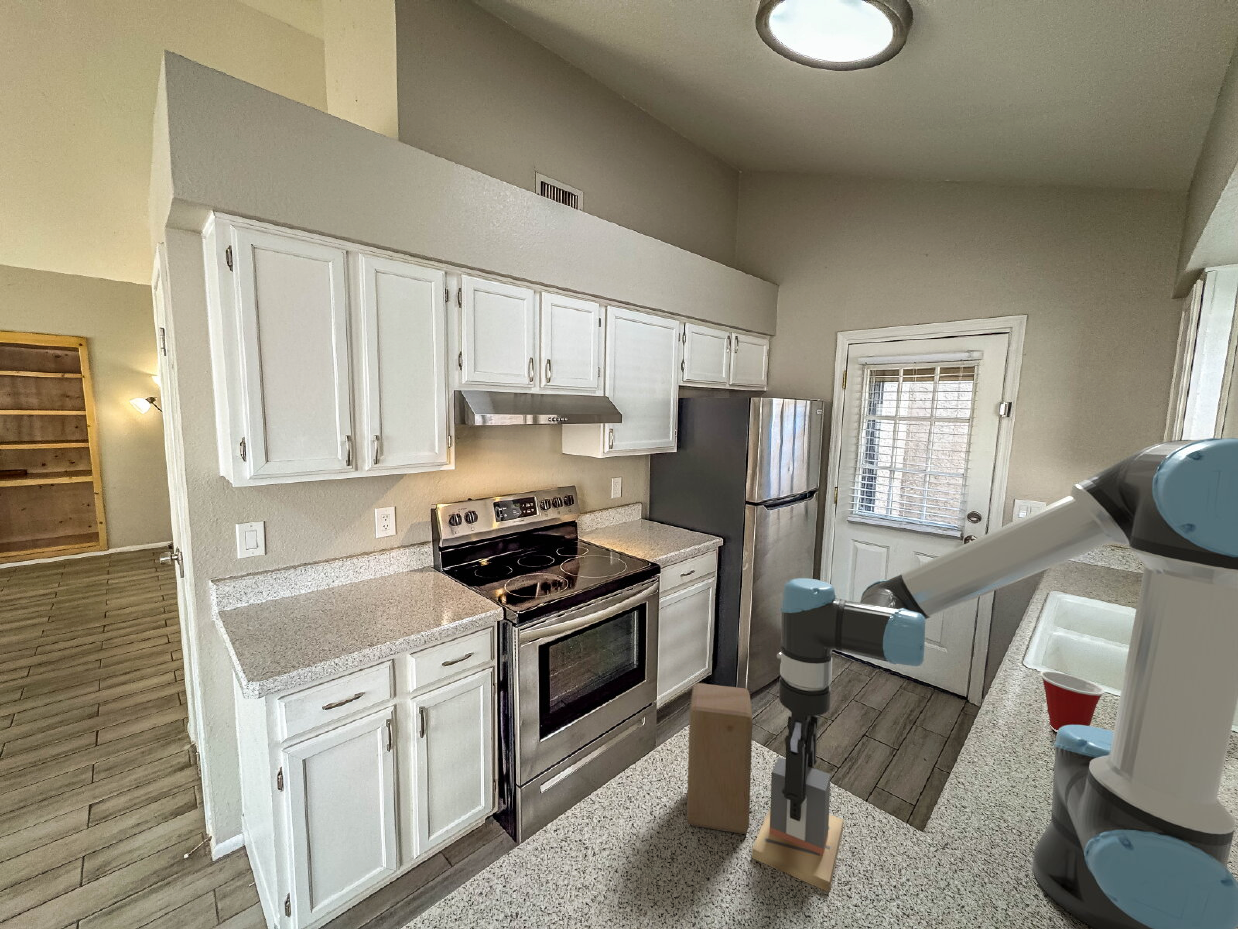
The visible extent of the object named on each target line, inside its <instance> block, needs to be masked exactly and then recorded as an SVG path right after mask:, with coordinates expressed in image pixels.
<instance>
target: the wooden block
mask: <svg viewBox="0 0 1238 929" xmlns="http://www.w3.org/2000/svg"><path fill="white" fill-rule="evenodd" d="M692 686H693V687H692V689H691V697H690V708H689V718H688V719H689V720H688V723H689V728H688V761H687V762H688V763H687V764H688V765H687V767H688V768H687V796H686V797H687V798H686V799H687V800H686V802H687V804H686V818H687V819H686V820H687V822H688V824H690V825H691V826H694V827H700V828H705V829H712V830H719V831H724V832H731V833H737V834H742V835H743V834H747V832H748V830H749V828H750V809H751V808H750V806H751V804H750V802H751V778H752V775H751V774H752V771H751V770H752V746H753V739H752V738H753V713H752V702H751V694H750V692H749V690H748V689H746V688H744V687H743V688H742V687H737V686H736V687H735V686H726V685H717V684H710V683H709V684H707V683H699V682H697V683H694V685H692Z"/></svg>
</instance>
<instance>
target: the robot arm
mask: <svg viewBox="0 0 1238 929" xmlns="http://www.w3.org/2000/svg"><path fill="white" fill-rule="evenodd" d="M1108 544H1117V545H1122V546H1128V545H1129V546H1128V549H1129V550H1130V551H1131V552H1132V553H1133V555H1135V556H1136V557H1137V558H1138V559H1139V560H1140V562H1141V563H1142V565H1143V566H1144V567H1143V571H1142V577H1141V582H1140V588H1139V594H1138V598H1137V604H1136V608H1135V609H1136V610H1135V614H1134V622H1133V626H1132V632H1131V636H1130V637H1131V638H1130V640H1129V641H1130V642H1129V646H1128V653H1127V658H1126V663H1125V669H1124V674H1123V679H1122V685H1121V689H1120V693H1119V694H1120V695H1119V699H1118V700H1119V701H1118V706H1117V710H1116V711H1117V712H1116V717H1115V722H1114V727H1113V730H1109V729H1106V728H1105V729H1104V728H1102V727H1095V726H1091V725H1089V726H1085V725H1066V726H1063V727H1061V728H1060V729H1059V730H1058V732H1057V733H1056V737H1055V738H1056V739H1055V742H1054V743H1053V747H1055V748H1054V765H1053V766H1054V767H1053V779H1052V780H1053V782H1052V783H1053V784H1052V785H1053V786H1052V800H1051V817H1050V818H1051V819H1050V821H1049V824H1047V825H1048V826H1046V829H1045V830H1044V831H1043V833H1042V835H1041V837H1040V839H1039V840H1038V842H1037V843H1036V845H1035V847H1034V850H1033V857H1032V871H1033V875H1034V876H1035V879H1036V881H1037V882H1038V885H1039V886H1040V887H1041V888H1042V889H1043V891H1045V893H1046V894H1047V895H1048V896H1049V897H1050V898H1051V899H1052V900H1053V901H1054V902H1055V903H1056V904H1058V905H1059V906H1060V907H1061V908H1062V909H1064V910H1065V911H1067V913H1069V914H1071V915H1072V916H1073V917H1074V918H1076V919H1077V920H1079V921H1081V922H1082V923H1084V924H1086V925H1087V926H1089V927H1091V928H1093V929H1237V928H1238V880H1237V879H1236V878H1235V876H1234V875H1233V874H1232V872H1231V871H1230V870H1229V868H1228V864H1229V863H1228V862H1229V857H1230V853H1231V848H1232V843H1233V839H1234V838H1233V837H1234V834H1235V829H1236V820H1235V819H1234V817H1233V815H1232V814H1231V812H1229V811H1228V810H1227V808H1226V807H1225V806H1224V805H1223V804H1222V803H1221V801H1219V799H1218V796H1219V791H1220V785H1221V781H1222V777H1223V771H1224V767H1225V763H1226V757H1227V753H1228V752H1227V751H1228V747H1229V744H1230V737H1231V734H1232V728H1233V723H1234V719H1235V713H1236V711H1237V710H1236V709H1237V704H1238V437H1237V438H1236V437H1230V438H1229V437H1228V438H1221V437H1219V438H1214V437H1211V438H1204V439H1176V440H1168V441H1163V442H1158V443H1156V444H1152V445H1150V446H1148V447H1145V448H1143V449H1140V450H1138V451H1136V452H1134V453H1132V454H1130V455H1128V456H1126V458H1125V457H1124V458H1123V459H1122V460H1120V461H1118V462H1116V463H1114V464H1113V465H1109V466H1108V467H1106V468H1105V469H1103V470H1101V471H1099V472H1097V473H1095V474H1093V475H1092V476H1090V477H1087V478H1086V479H1084V480H1083V479H1082V480H1081V481H1080V482H1077V483H1074V484H1073V485H1072V487H1071V490H1070V494H1069V495H1068V496H1065V497H1064V498H1061V499H1059V500H1057V501H1055V502H1052V503H1051V504H1049V505H1046V506H1044V507H1041V508H1039V509H1038V510H1035V511H1034V512H1031V513H1029V514H1027V515H1025V516H1023V517H1021V518H1018V519H1016V520H1014V521H1012V522H1010V523H1008V524H1006V525H1004V526H1001V527H998V528H997V529H995V530H993V531H991V532H989V533H986V534H984V535H982V536H980V537H977V538H975V539H974V540H971V541H969V542H966V543H965V544H962V545H961V546H958V547H956V548H954V549H952V550H950V551H948V552H946V553H943V554H941V555H939V556H936V557H935V558H932V559H931V560H929V561H926V562H924V563H921V564H920V565H918V566H915V567H913V568H912V569H911V568H910V569H909V570H906V571H904V572H902V573H901V574H898V575H896V576H893V577H891V578H890V579H881V580H876V581H875V582H873V583H871V584H869V585H868V586H867V587H866V589H865V590H864V591H863V593H862V595H861V597H860V601H859V602H857V601H850V600H847V599H842V598H837V596H836V594H835V588H834V586H833V585H832V584H830V583H829V582H827V581H822V580H819V579H817V578H816V579H813V578H806V577H803V578H802V577H800V578H794V579H790V580H788V581H787V582H786V583H785V584H784V586H783V595H782V603H781V604H782V605H781V606H782V607H781V608H780V611H781V630H780V631H781V636H780V641H781V643H780V652H777V654H776V658H777V659H778V660H780V664H779V665H780V666H779V668H780V669H779V673H780V677H779V682H778V684H779V686H778V699H779V702H780V704H781V705H782V706H783V707H784V708H786V709H787V710H788V711H790V712H791V716H790V715H789V716H788V717H787V724H786V725H787V730H788V734H787V735H786V736H785V739H784V743H785V759H786V764H785V788H783V790H782V793H783V794H784V797H785V798H786V799H787V825H786V834H789V835H791V836H794V837H796V838H799V839H801V840H804V841H805V836H806V810H807V796H806V795H805V791H806V778H807V767H810V768H813V769H816V770H819V769H818V768H815V766H816V765H817V762H818V760H817V754H818V753H817V751H818V749H817V748H818V726H819V721H820V719H819V717H820V716H823V715H825V714H827V713H828V712H829V711H830V709H831V694H832V693H831V691H832V689H831V688H832V687H831V683H832V682H833V679H832V678H833V676H832V674H833V651H838V652H841V653H847V654H852V655H856V656H861V657H865V658H870V659H873V660H878V661H882V662H886V663H889V664H891V665H904V666H909V667H919V666H922V665H923V663H924V661H925V645H926V644H925V642H926V620H927V619H929V618H931V617H933V616H936V615H938V614H941V613H943V612H946V611H948V610H950V609H953V608H956V607H958V606H960V605H963V604H966V603H967V602H970V601H973V600H975V599H977V598H979V597H982V596H984V595H985V596H986V595H987V594H989V593H992V592H994V591H996V590H1000V589H1002V588H1004V587H1007V586H1009V585H1011V584H1014V583H1016V582H1019V581H1021V580H1024V579H1026V578H1028V577H1031V576H1034V575H1036V574H1038V573H1041V572H1043V571H1045V570H1047V569H1050V568H1053V567H1055V566H1058V565H1060V564H1062V563H1065V562H1067V561H1069V560H1072V559H1074V558H1077V557H1079V556H1081V555H1084V554H1087V553H1089V552H1092V551H1094V550H1096V549H1099V548H1102V547H1104V546H1106V545H1108Z"/></svg>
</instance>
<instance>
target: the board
mask: <svg viewBox="0 0 1238 929" xmlns="http://www.w3.org/2000/svg"><path fill="white" fill-rule="evenodd" d="M843 830H844V819H843V818H839V817H838V816H835V815H832V814H829V828H828V838H827V842H826V846H825V850H824V854H823V855H821V854H819V853H816V852H814V851H811V850H809V849H807V848H804V847H802V846H799V845H797V844H795V843H792V842H790V841H787V840H785V839H783V838H780V837H778V836H775V835H773V834H770V808H769V809H768V811H767V814H766V815H765V818H764V820H763V822H762V825H761V826H760V830H759V832H758V835H757V837H756V839H755V841H754V844H753V847H752V848H751V859H754V860H756V861H758V862H759V863H762V864H764V865H766V866H769V867H771V868H774V869H775V870H778V871H781V872H783V873H785V874H786V875H789V876H792V877H795V878H797V879H799V880H801V881H803V882H806V883H807V884H809V885H812V886H814V887H816V888H818V889H821V890H823V891H826V892H828V893H830V891H831V886H832V881H833V876H834V872H835V868H836V862H837V858H838V852H839V850H840V845H841V839H842V835H843Z"/></svg>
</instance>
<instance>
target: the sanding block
mask: <svg viewBox="0 0 1238 929" xmlns="http://www.w3.org/2000/svg"><path fill="white" fill-rule="evenodd" d="M785 764H786V758H783V757H780V756H778V758H777V760H776V762H775V764H774V766H773V769H772V770H771V777H770V778H771V780H770V781H771V782H770V783H771V784H770V807H769V809H770V834H773V835H775V836H778V837H780V838H783V839H785V840H787V841H790V842H792V843H795V844H797V845H799V846H802V847H804V848H807V849H809V850H811V851H814V852H816V853H819V854H821V855H823V854H824V850H825V846H826V842H827V838H828V828H829V815H830V803H831V801H830V800H831V799H830V798H831V797H830V796H831V776H832V775H831V773H828V772H825V771H823V770H822V771H821V770H820V769H818V770H816V769H817V768H815V769H813V768H810V767H807V778H806V791H805V795H806V796H807V810H806V836H805V841H804V840H801V839H799V838H796V837H794V836H791V835H789V834H786V825H787V799H786V798H785V797H784V794H783V793H782V790H783V788H785Z"/></svg>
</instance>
